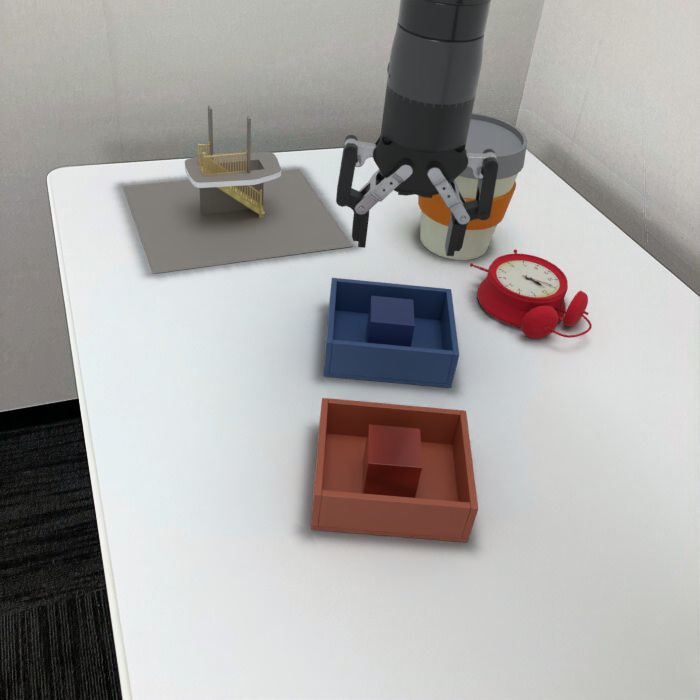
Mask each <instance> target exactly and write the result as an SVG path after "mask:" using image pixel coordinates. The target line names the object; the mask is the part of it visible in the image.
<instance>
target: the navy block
mask: <svg viewBox="0 0 700 700" xmlns="http://www.w3.org/2000/svg"><path fill="white" fill-rule="evenodd" d="M414 327H415V321H414V304H413V300H412V299H401V298H391V297H380V296H371V300H370V307H369V314H368V322H367V330H366V343H375V344H385V345H396V346H407V347H411V343H412V338H413V332H414Z"/></svg>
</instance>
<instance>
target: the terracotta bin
mask: <svg viewBox="0 0 700 700" xmlns="http://www.w3.org/2000/svg"><path fill="white" fill-rule="evenodd" d="M369 424H371V425H382V426H393V427H405V428H416V429H420V438H421V455H422V471H421V475H420V479H419V484H418V488H417V492H416V496H415V498H410V497H398V496H386V495H374V494H363V457H364V451H365V445H366V439H367V432H368V426H369ZM317 435H318V436H317V447H316V459H315V468H314V469H315V471H314V483H313V493H312V507H311V518H310V530H314V531H315V530H316V531H327V532H338V533H339V532H341V533H350V534H351V533H352V534H360V535H361V534H362V535H373V536H387V537H398V538H399V537H400V538H410V539H411V538H412V539H424V540H435V541H447V542H457V543H458V542H460V543H468V542H469V538H470V535H471V531H472V529H473V526H474V523H475V521H476V517H477V514H478V512H479V503H478V496H477V487H476V478H475V471H474V470H475V469H474V464H473V463H474V461H473V454H472V447H471V446H472V445H471V438H470V430H469V422H468V414H467V410H462V409H452V408H443V407H442V408H439V407H430V406H420V405H419V406H418V405H408V404H407V405H406V404H396V403H385V402H374V401H364V400H354V399H353V400H352V399H341V398H328V397H327V398H326V397H322V398H321V405H320V414H319V424H318V434H317Z"/></svg>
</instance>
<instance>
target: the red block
mask: <svg viewBox="0 0 700 700" xmlns="http://www.w3.org/2000/svg"><path fill="white" fill-rule="evenodd" d="M421 471H422V455H421V438H420V429H416V428H405V427H393V426H382V425H371V424H369V426H368V432H367V439H366V445H365V451H364V457H363V494H374V495H386V496H398V497H410V498H415V496H416V492H417V488H418V484H419V479H420V475H421Z"/></svg>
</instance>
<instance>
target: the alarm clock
mask: <svg viewBox="0 0 700 700" xmlns="http://www.w3.org/2000/svg"><path fill="white" fill-rule="evenodd" d="M512 252H513V253H507V254H503V255H500V256H498V257H497V258H495V259H493V261H492V262H491V264H489V267H488V269H487V268H484V267H483V266H478V265H475V264H474V263H473V262H470V264H469V267H471V268H472V267H474V268H476V269H478V270H480V271H483V272H486V273H487V275H486V276H485V278H484V279H483V280H482V281H481V282H480V283H479V285H478V287H477V288H478V289H477V294H476V295H477V299H478V302H479V304H480V306H481V307H482V308H483V310H484V311H485V312H486V313H487V314H489V315H490V316H491V317H493V318H494V319H496V320H498V321H500V322H502V323H504V324H507V325H509V326H513V327H517V328H520V329H521V332H522V333H523V335H524V336H526V337H527V338H529V339H534V340H538V339H543V338H546V337H548V336H549V335H551V334H552V333H553V334H555V335H558V336H560V337H562V338H570V339H571V338H578V337H581V336H584V335H585V334H587V333H588V332H590V331H591V329H592V326H593V325H592V322H591V321H590V320H589V318H587V316H588V315H589V314H590V313H589V312H587V311H586V310H587V308H588V303H589V296H588V294H587V293H586V292H584V291H583V290H579V291H578V292H576V294H575V295H574V296H573V297H572V299H571V301H570V303H569V305H568V307H566V306H567V305H566V302H565V297H566V294H567V292H568V289H569V285H568V278H567V276H566V274H565V273H564V272H563V271H562V269H561V268H560V267H559V266H557V265H556V264H554V263H552V262H550V261H549V260H547V259H544V258H542V257H540V256H536V255H532V254H528V253H518V250H517V249H513V251H512ZM582 318H583V319H584V320H585V321H586V322H587V324H588V328H586V330H584V331H582V332H579V333H576V334H570V335H569V334H564V333H562V332H559V331H557V330H556V329H557V326H558V323H560V322H562V324H563V325H564V326H566V327H574V326H575V325H577V323H578V322H579V321H580V320H581V319H582Z"/></svg>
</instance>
